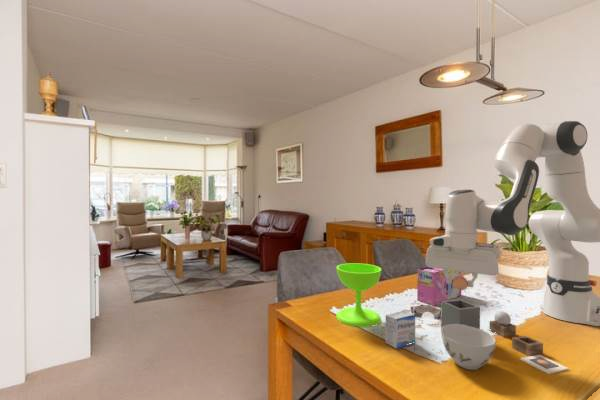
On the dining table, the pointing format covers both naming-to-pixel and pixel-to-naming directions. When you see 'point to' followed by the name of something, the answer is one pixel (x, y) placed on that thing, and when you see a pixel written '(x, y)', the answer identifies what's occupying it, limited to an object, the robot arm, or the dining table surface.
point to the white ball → (502, 318)
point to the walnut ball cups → (518, 339)
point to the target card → (544, 364)
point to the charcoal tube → (460, 313)
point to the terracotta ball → (460, 283)
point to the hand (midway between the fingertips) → (460, 285)
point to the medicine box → (400, 329)
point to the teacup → (468, 345)
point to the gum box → (435, 286)
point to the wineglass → (358, 293)
